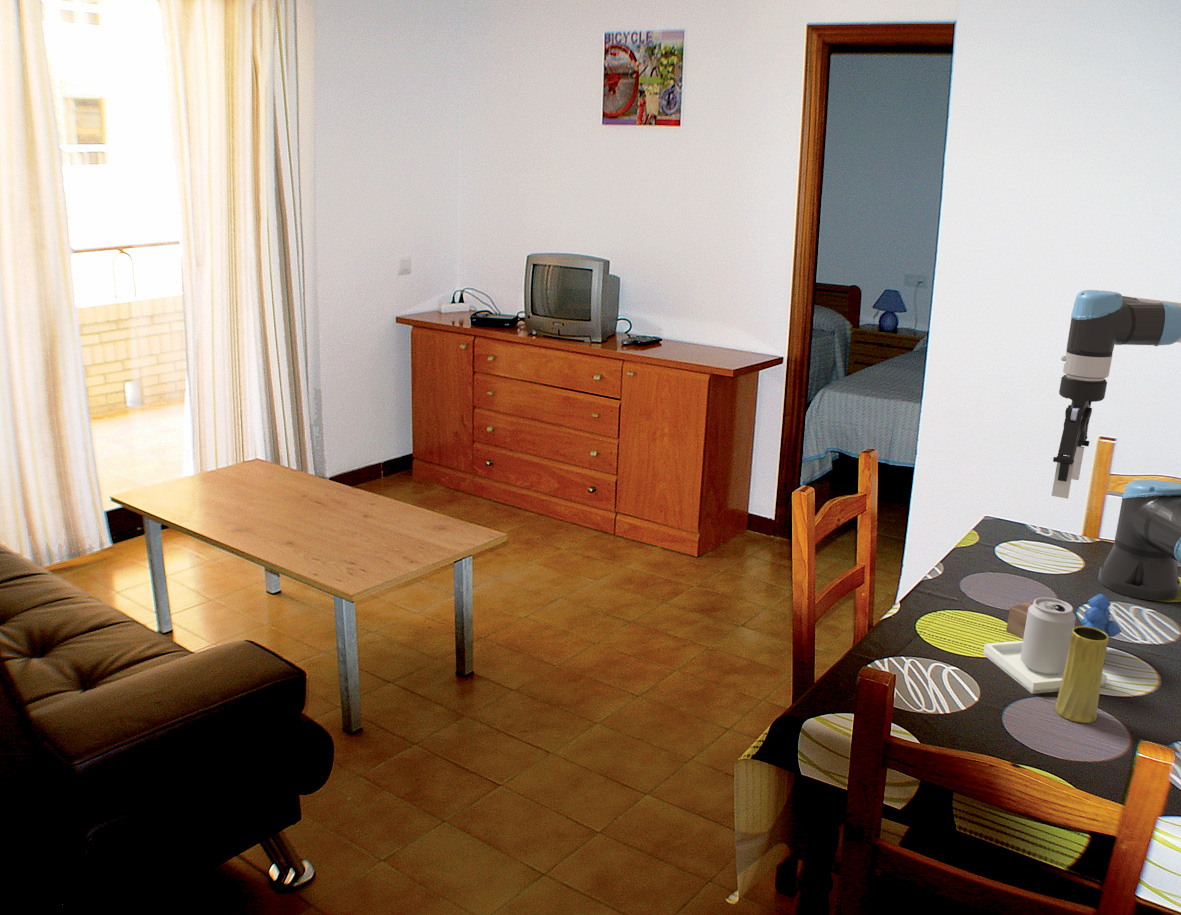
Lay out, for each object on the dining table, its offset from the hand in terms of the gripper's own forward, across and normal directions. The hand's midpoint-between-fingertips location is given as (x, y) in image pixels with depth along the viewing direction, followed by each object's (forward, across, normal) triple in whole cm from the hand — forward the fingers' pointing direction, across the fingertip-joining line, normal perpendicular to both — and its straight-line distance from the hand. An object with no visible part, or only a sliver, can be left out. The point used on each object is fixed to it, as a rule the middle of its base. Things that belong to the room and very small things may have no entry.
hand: (1065, 487), depth 183 cm
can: (+26, +23, +4) cm, 35 cm away
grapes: (+27, +12, +11) cm, 31 cm away
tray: (+27, +23, +4) cm, 36 cm away
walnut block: (+27, +10, -1) cm, 29 cm away
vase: (+27, +36, +10) cm, 46 cm away
